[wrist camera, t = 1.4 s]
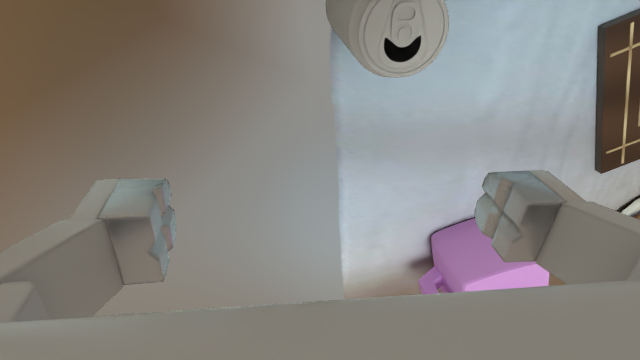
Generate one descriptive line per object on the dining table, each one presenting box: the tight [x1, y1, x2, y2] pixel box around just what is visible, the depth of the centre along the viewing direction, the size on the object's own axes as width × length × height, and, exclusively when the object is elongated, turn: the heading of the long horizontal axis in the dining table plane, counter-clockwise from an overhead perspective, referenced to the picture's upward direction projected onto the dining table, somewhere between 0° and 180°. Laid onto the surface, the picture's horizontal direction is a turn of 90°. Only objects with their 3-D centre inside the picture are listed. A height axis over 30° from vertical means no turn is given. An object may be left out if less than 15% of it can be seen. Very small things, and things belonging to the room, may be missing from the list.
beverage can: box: [326, 0, 449, 77], centre depth 29 cm, size 6×6×12 cm
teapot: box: [418, 218, 549, 294], centre depth 47 cm, size 18×10×10 cm, turn 105°
